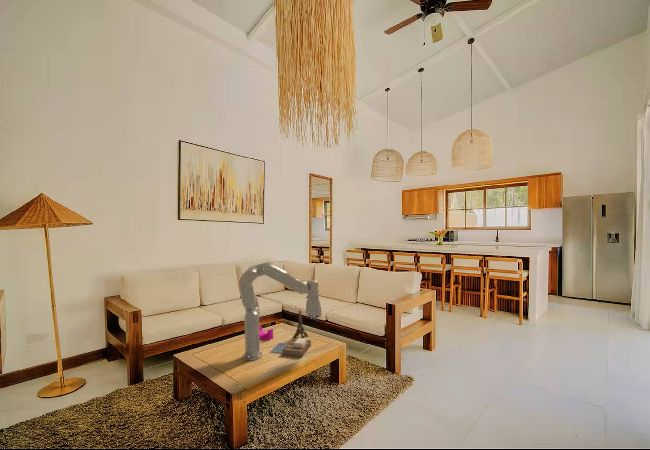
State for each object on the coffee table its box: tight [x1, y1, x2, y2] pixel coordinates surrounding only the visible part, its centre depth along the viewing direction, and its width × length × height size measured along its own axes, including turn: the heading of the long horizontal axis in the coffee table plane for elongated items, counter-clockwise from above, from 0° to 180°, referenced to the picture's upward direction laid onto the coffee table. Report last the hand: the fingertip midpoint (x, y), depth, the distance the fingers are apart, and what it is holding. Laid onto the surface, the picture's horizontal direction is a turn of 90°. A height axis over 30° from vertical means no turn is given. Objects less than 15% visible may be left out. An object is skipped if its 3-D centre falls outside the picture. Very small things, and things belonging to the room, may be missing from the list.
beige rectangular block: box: [294, 337, 308, 348], centre depth 214 cm, size 9×6×3 cm, turn 165°
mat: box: [269, 342, 288, 355], centre depth 218 cm, size 16×10×1 cm, turn 165°
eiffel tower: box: [291, 310, 309, 340], centre depth 239 cm, size 11×11×25 cm
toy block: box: [259, 325, 274, 341], centre depth 239 cm, size 15×6×8 cm, turn 57°
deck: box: [282, 337, 312, 358], centre depth 215 cm, size 20×14×4 cm
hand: (314, 324), depth 212 cm, fingers closed
